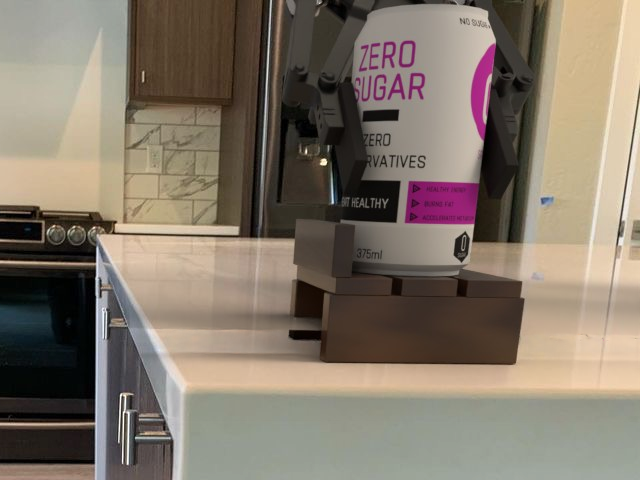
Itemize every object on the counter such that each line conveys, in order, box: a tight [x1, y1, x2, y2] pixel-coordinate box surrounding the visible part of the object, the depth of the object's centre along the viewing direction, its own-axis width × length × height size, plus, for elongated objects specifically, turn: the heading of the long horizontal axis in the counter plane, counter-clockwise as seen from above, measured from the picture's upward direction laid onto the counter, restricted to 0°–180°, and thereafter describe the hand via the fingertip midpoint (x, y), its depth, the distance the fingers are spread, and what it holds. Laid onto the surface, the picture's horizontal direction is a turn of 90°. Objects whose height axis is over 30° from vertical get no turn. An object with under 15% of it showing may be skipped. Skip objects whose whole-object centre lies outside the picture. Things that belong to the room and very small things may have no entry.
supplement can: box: [339, 4, 496, 277], centre depth 59 cm, size 8×8×15 cm
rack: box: [288, 218, 526, 365], centre depth 61 cm, size 12×10×8 cm
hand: (430, 180), depth 56 cm, fingers open, 8 cm apart
